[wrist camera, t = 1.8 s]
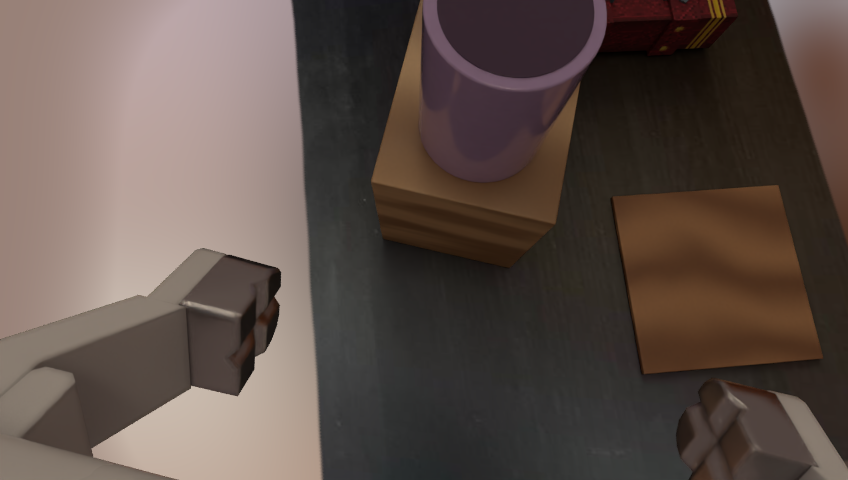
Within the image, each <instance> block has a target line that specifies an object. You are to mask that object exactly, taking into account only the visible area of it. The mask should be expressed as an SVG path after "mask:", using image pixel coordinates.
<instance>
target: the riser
mask: <svg viewBox="0 0 848 480" xmlns="http://www.w3.org/2000/svg"><path fill="white" fill-rule="evenodd" d="M422 7H423V0H420V3H419V7H418V11H417V14H416V18H415V22H414V25H413V29H412V33H411V36H410V40H409V44H408V47H407V51H406V55H405V58H404V62H403V66H402V69H401V73H400V77H399V80H398V84H397V88H396V91H395V95H394V99H393V102H392V106H391V110H390V113H389V117H388V121H387V124H386V128H385V132H384V135H383V139H382V143H381V146H380V150H379V154H378V157H377V161H376V165H375V169H374V172H373V176H372V180H371V184H372V188H373V193H374V198H375V203H376V208H377V213H378V218H379V223H380V227H381V232H382V237H383V239H386V240H390V241H395V242H399V243H403V244H408V245H412V246H416V247H421V248H425V249H429V250H433V251H438V252H442V253H446V254H451V255H455V256H459V257H464V258H468V259H472V260H477V261H481V262H485V263H490V264H494V265H498V266H502V267H507V268H510V267H511V266H512V265H513V264H514V263H515V262H516V261H517V260H519V259H520V258H521V257H522V256H523V255H524V254H525V253H526V252H527V251H528V250H529V249H530V248H531V247H532V246H533V245H534V244H535V243H536V242H537V241H538V240H539V239H540V238H541V237H543V236H544V235H545V234H546V233H547V232H548V231H549V230H550V229H551V228H552V227H553V226H554V225H555V224H556V219H557V214H558V208H559V202H560V196H561V191H562V185H563V179H564V173H565V168H566V162H567V156H568V150H569V145H570V139H571V133H572V127H573V122H574V116H575V110H576V104H577V99H578V93H579V87H580V83H579V84H578V86H577V88H576V89H575V91H574V93H573V94H572V96H571V98H570V99H569V101H568V102H567V104H566V106H565V107H564V109H563V111H562V112H561V114H560V116H559V117H558V119H557V121H556V122H555V124H554V126H553V127H552V129H551V131H550V132H549V134H548V136H547V137H546V139H545V140H544V142H543V144H542V145H541V147H540V149H539V150H538V152H537V154H536V155H535V157H534V158H533V159H532V161H531V162H530V163H529V164H528V165H527V166H526V167H525V168H524V169H522V170H521V171H520V172H518V173H517V174H515V175H513V176H511V177H509V178H506V179H504V180H500V181H496V182H487V183H479V182H471V181H467V180H463V179H460V178H458V177H455V176H453V175H451V174H449V173H447V172H446V171H445V170H443V169H442V168H440V167H439V166H438V165H437V164H436V163H435V162H434V161H433V160H432V158H431V157H430V156H429V155H428V153H427V151H426V150H425V148H424V146H423V144H422V141H421V138H420V135H419V129H418V111H419V85H420V59H421V33H422Z"/></svg>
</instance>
